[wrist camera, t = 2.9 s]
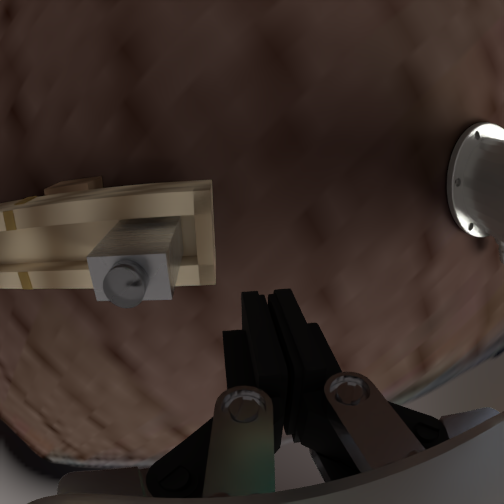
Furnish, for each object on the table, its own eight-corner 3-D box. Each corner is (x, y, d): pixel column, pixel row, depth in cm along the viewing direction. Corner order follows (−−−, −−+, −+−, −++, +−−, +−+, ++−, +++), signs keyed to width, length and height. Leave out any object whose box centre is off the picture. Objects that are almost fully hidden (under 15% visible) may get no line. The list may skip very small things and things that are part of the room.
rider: (180, 215, 19) (162, 263, 13) (183, 251, 20) (169, 311, 14) (120, 219, 19) (78, 266, 12) (125, 254, 19) (90, 311, 13)
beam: (212, 166, 23) (208, 195, 14) (216, 251, 26) (216, 323, 16) (-9, 194, 21) (-78, 230, 12) (5, 261, 24) (-51, 314, 15)
